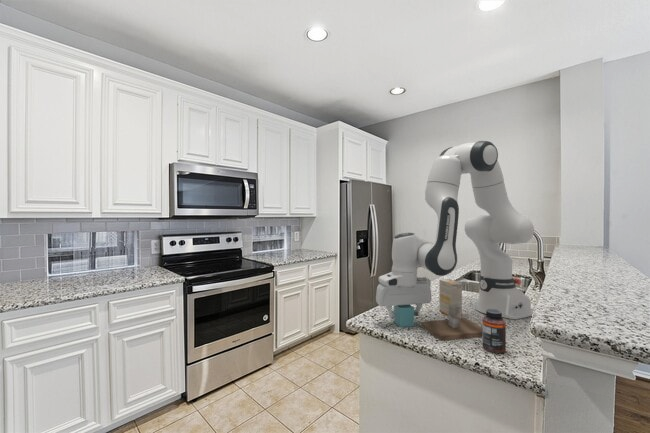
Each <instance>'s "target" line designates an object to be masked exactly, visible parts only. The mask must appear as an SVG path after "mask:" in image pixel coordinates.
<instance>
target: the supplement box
mask: <svg viewBox="0 0 650 433" xmlns="http://www.w3.org/2000/svg"><path fill="white" fill-rule="evenodd" d="M438 281H439V284H438V287H439V288H438V289H439V293H438V294H439V296H438V300H439V301H438V303H439V304H438V306H439V307H438V309H439V312H441V313H442V314H445V315H446V316H448V317H449V305H454V304H456V305H458V306H460V318H462V317H463V315H462V314H463V300H462V299H463V283H462V282H460V281H457V280H453V279H450V278H440V279H439V280H438Z"/></svg>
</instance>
